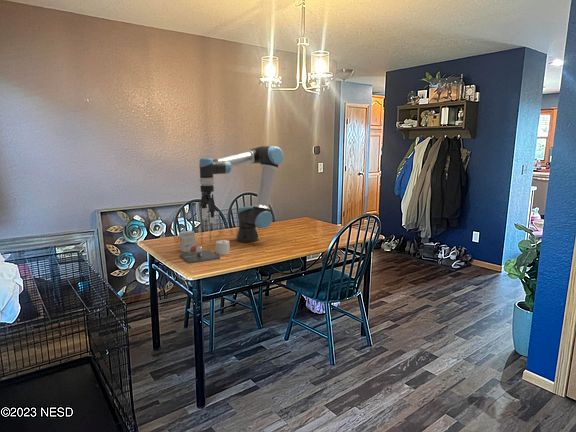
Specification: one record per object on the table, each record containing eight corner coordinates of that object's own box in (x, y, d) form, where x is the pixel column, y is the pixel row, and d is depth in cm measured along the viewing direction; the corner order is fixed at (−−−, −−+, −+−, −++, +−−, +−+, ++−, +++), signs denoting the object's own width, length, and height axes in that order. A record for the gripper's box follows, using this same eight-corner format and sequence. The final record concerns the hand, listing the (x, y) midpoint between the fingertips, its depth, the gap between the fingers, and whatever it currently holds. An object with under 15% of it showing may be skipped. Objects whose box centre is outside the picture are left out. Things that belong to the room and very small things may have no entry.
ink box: (191, 248, 246) (190, 230, 244) (196, 249, 242) (195, 231, 240) (179, 250, 240) (178, 232, 238) (183, 252, 236) (182, 233, 234)
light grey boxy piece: (214, 252, 236) (213, 240, 235) (226, 250, 241) (226, 238, 239) (219, 255, 230) (218, 243, 228) (231, 253, 234) (231, 241, 233)
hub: (209, 251, 238) (208, 241, 237) (220, 258, 223) (220, 248, 222) (179, 255, 229) (179, 245, 228) (189, 263, 213) (188, 252, 212)
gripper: (194, 183, 236) (195, 218, 240) (207, 187, 215) (209, 225, 219) (206, 182, 240) (207, 217, 244) (220, 186, 219) (221, 223, 222)
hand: (208, 220), depth 231 cm, fingers open, 13 cm apart
